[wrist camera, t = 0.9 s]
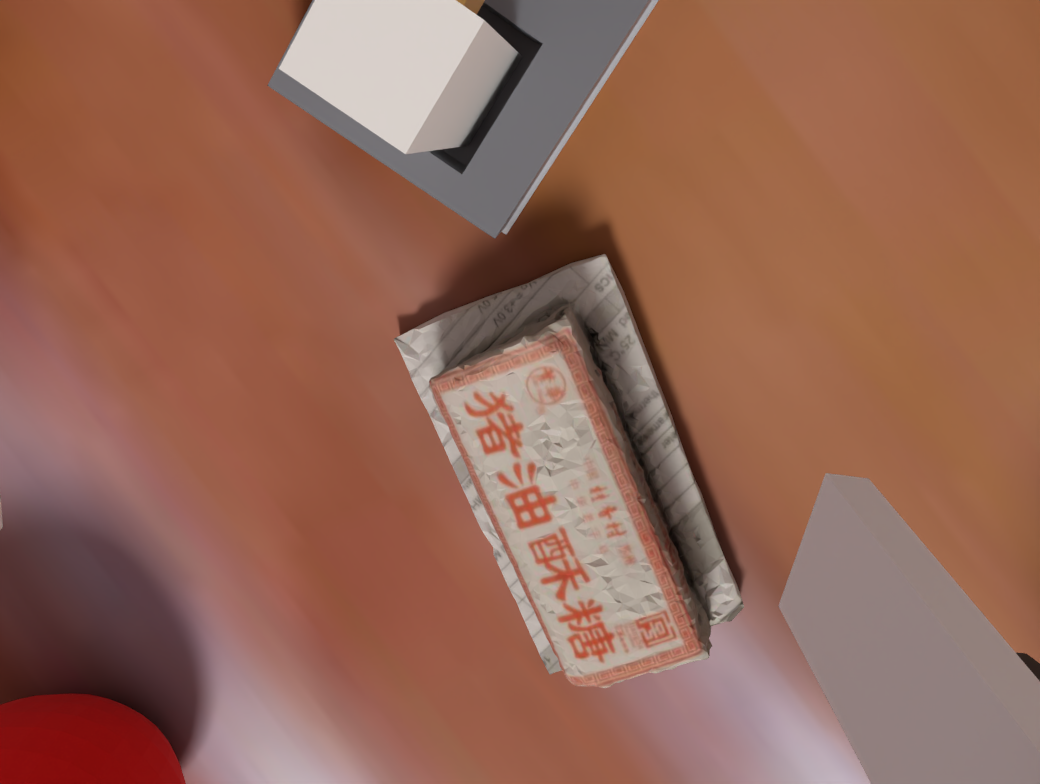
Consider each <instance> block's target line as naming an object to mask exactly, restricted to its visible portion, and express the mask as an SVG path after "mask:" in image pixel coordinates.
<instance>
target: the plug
mask: <svg viewBox="0 0 1040 784" xmlns="http://www.w3.org/2000/svg"><path fill="white" fill-rule="evenodd" d="M484 1H485V0H315V1H314V3H313V5H312V7H311V8H310V10H309V12H308V14H307V16H306V18H305V20H304V22H303V24H302V26H301V27H300V29H299V31H298V33H297V35H296V37H295V39H294V41H293V43H292V44H291V46H290V48H289V50H288V52H287V54H286V56H285V58H284V60H283V61H282V63H281V65H280V67H279V69H280V70H282V71H283V72H285V73H286V74H287V75H289V76H290V77H292V78H293V79H295V80H296V81H298V82H299V83H301V84H302V85H304V86H305V87H307V88H308V89H310V90H311V91H313V92H314V93H316V94H317V95H319V96H320V97H321V98H323V99H324V100H326V101H327V102H329V103H330V104H332V105H333V106H335V107H336V108H338V109H339V110H341V111H342V112H344V113H345V114H347V115H348V116H350V117H351V118H352V119H354V120H355V121H357V122H358V123H360V124H361V125H363V126H364V127H366V128H367V129H369V130H370V131H372V132H373V133H375V134H376V135H378V136H379V137H381V138H382V139H384V140H385V141H386V142H388V143H389V144H391V145H392V146H394V147H395V148H397V149H398V150H400V151H401V152H403V153H404V154H411V153H418V152H426V151H433V150H441V149H448V148H455V147H463V146H468V144H469V143H470V141H471V140H472V138H473V136H474V135H475V133H476V131H477V130H478V128H479V127H480V125H481V123H482V122H483V120H484V118H485V117H486V115H487V113H488V112H489V110H490V109H491V107H492V105H493V104H494V102H495V100H496V99H497V97H498V96H499V94H500V92H501V91H502V89H503V87H504V86H505V84H506V82H507V81H508V79H509V78H510V76H511V74H512V73H513V71H514V69H515V68H516V66H517V65H518V63H519V61H520V60H521V58H522V56H521V55H520V54H519V53H518V52H517V51H516V50H515V49H514V48H513V47H512V46H511V45H510V44H509V43H508V42H507V41H506V40H505V39H504V38H503V37H502V36H500V35H499V34H498V33H497V32H496V31H495V30H494V29H493V28H492V27H491V26H490V25H489V24H488V23H487V22H486V21H485V20H483V19H482V18H481V17H479V16H478V15H477V13H478V11H479V10H480V8H481V6H482V5H483V3H484Z"/></svg>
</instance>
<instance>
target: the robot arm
mask: <svg viewBox="0 0 1040 784" xmlns="http://www.w3.org/2000/svg"><path fill="white" fill-rule="evenodd" d="M2 528H3V523H2V509H1V496H0V530H1V529H2ZM779 608H780V610H781V612H782V614H783V616H784V618H785V620H786V622H787V624H788V625H789V627H790V629H791V631H792V633H793V635H794V637H795V639H796V641H797V643H798V645H799V646H800V648H801V650H802V652H803V654H804V656H805V658H806V660H807V662H808V664H809V666H810V667H811V669H812V671H813V673H814V675H815V677H816V679H817V681H818V683H819V685H820V687H821V688H822V690H823V692H824V694H825V696H826V698H827V700H828V702H829V704H830V706H831V708H832V710H833V711H834V713H835V715H836V717H837V719H838V721H839V723H840V725H841V727H842V729H843V731H844V732H845V734H846V736H847V738H848V740H849V742H850V744H851V746H852V748H853V750H854V752H855V753H856V755H857V757H858V759H859V761H860V763H861V765H862V767H863V769H864V771H865V773H866V774H867V776H868V778H869V780H870V782H871V784H1040V664H1039V663H1038V662H1037V661H1035V660H1034V659H1033V658H1031V657H1030V656H1029V655H1028V654H1025V653H1015V651H1014V650H1013V649H1012V648H1011V647H1010V645H1009V644H1008V643H1007V642H1006V641H1005V640H1004V638H1003V637H1002V636H1001V635H1000V634H999V632H998V631H997V630H996V629H995V628H994V627H993V625H992V624H991V623H990V622H989V621H988V619H987V618H986V617H985V616H984V615H983V614H982V612H981V611H980V610H979V609H978V608H977V606H976V605H975V604H974V603H973V602H972V600H971V599H970V598H969V597H968V596H967V595H966V593H965V592H964V591H963V590H962V589H961V587H960V586H959V585H958V584H957V583H956V582H955V580H954V579H953V578H952V577H951V576H950V574H949V573H948V572H947V571H946V570H945V569H944V567H943V566H942V565H941V564H940V563H939V561H938V560H937V559H936V558H935V557H934V555H933V554H932V553H931V552H930V551H929V550H928V548H927V547H926V546H925V545H924V544H923V542H922V541H921V540H920V539H919V538H918V537H917V535H916V534H915V533H914V532H913V531H912V529H911V528H910V527H909V526H908V525H907V523H906V522H905V521H904V520H903V519H902V518H901V516H900V515H899V514H898V513H897V512H896V510H895V509H894V508H893V507H892V506H891V505H890V503H889V502H888V501H887V500H886V499H885V497H884V496H883V495H882V494H881V493H880V492H879V490H878V489H877V488H876V487H875V486H874V484H873V483H872V482H871V481H870V480H869V479H868V478H860V477H852V476H844V475H836V474H828V473H826V474H825V477H824V479H823V482H822V485H821V488H820V491H819V494H818V496H817V499H816V502H815V505H814V508H813V510H812V513H811V516H810V519H809V522H808V525H807V527H806V530H805V533H804V536H803V539H802V541H801V544H800V547H799V550H798V553H797V555H796V558H795V561H794V564H793V567H792V570H791V572H790V575H789V578H788V581H787V584H786V586H785V589H784V592H783V595H782V598H781V600H780V603H779Z"/></svg>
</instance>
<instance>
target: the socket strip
mask: <svg viewBox="0 0 1040 784" xmlns="http://www.w3.org/2000/svg"><path fill="white" fill-rule="evenodd" d="M314 1H315V0H312V2H311V4H310V6H309V8H308V10H307V12H306V14H305V15H304V17H303V19H302V21H301V23H300V25H299V27H298V29H297V31H296V33H295V34H294V36H293V38H292V40H291V42H290V44H289V46H288V48H287V50H286V52H285V53H284V55H283V57H282V59H281V61H280V63H279V65H278V67H277V69H276V70H275V72H274V74H273V76H272V78H271V80H270V82H269V84H268V86H269V87H270V88H272V89H273V90H275V91H276V92H278V93H279V94H281V95H282V96H284V97H285V98H287V99H288V100H290V101H291V102H293V103H294V104H296V105H297V106H299V107H300V108H302V109H303V110H305V111H306V112H308V113H309V114H311V115H312V116H313V117H315V118H316V119H318V120H319V121H321V122H322V123H324V124H325V125H327V126H328V127H330V128H331V129H333V130H334V131H336V132H337V133H339V134H340V135H342V136H343V137H345V138H346V139H348V140H349V141H351V142H352V143H354V144H355V145H357V146H358V147H360V148H361V149H362V150H364V151H365V152H367V153H368V154H370V155H371V156H373V157H374V158H376V159H377V160H379V161H380V162H382V163H383V164H385V165H386V166H388V167H389V168H391V169H392V170H394V171H395V172H397V173H398V174H400V175H401V176H403V177H404V178H406V179H407V180H409V181H410V182H411V183H413V184H414V185H416V186H417V187H419V188H420V189H422V190H423V191H425V192H426V193H428V194H429V195H431V196H432V197H434V198H435V199H437V200H438V201H440V202H441V203H443V204H444V205H446V206H447V207H449V208H450V209H452V210H453V211H455V212H456V213H457V214H459V215H460V216H462V217H463V218H465V219H466V220H468V221H469V222H471V223H472V224H474V225H475V226H477V227H478V228H480V229H481V230H483V231H484V232H486V233H487V234H489V235H490V236H492V237H493V238H496V237H497V236H498V235H499V234H500V233H501V232H503V233H504V234H507V233H508V232H509V230H510V228H511V227H512V225H513V224H514V222H515V221H516V219H517V218H518V216H519V215H520V213H521V211H522V210H523V208H524V207H525V205H526V204H527V202H528V201H529V199H530V198H531V196H532V195H533V193H534V191H535V190H536V188H537V187H538V185H539V184H540V182H541V181H542V179H543V178H544V176H545V174H546V173H547V171H548V170H549V168H550V167H551V165H552V164H553V162H554V161H555V159H556V158H557V156H558V154H559V153H560V151H561V150H562V148H563V147H564V145H565V144H566V142H567V141H568V139H569V137H570V136H571V134H572V133H573V131H574V130H575V128H576V127H577V125H578V124H579V122H580V121H581V119H582V117H583V116H584V114H585V113H586V111H587V110H588V108H589V107H590V105H591V104H592V102H593V100H594V99H595V97H596V96H597V94H598V93H599V91H600V90H601V88H602V87H603V85H604V84H605V82H606V80H607V79H608V77H609V76H610V74H611V73H612V71H613V70H614V68H615V67H616V65H617V64H618V62H619V60H620V59H621V57H622V56H623V54H624V53H625V51H626V50H627V48H628V47H629V45H630V43H631V42H632V40H633V39H634V37H635V36H636V34H637V33H638V31H639V30H640V28H641V27H642V25H643V23H644V22H645V20H646V19H647V17H648V16H649V14H650V13H651V11H652V10H653V8H654V6H655V5H656V3H657V2H658V0H485V1H484V3H483V5H482V6H481V8H480V10H479V11H478V13H477V15H478V16H479V17H481V18H482V19H483V20H485V21H486V22H487V23H488V24H489V25H490V26H491V27H492V28H493V29H494V30H495V31H496V32H497V33H498V34H499V35H500V36H502V37H503V38H504V39H505V40H506V41H507V42H508V43H509V44H510V45H511V46H512V47H513V48H514V49H515V50H516V51H517V52H518V53H519V54H520V55H521V56H522V58H521V60H520V61H519V63H518V65H517V66H516V68H515V69H514V71H513V73H512V74H511V76H510V78H509V79H508V81H507V82H506V84H505V86H504V87H503V89H502V91H501V92H500V94H499V96H498V97H497V99H496V100H495V102H494V104H493V105H492V107H491V109H490V110H489V112H488V113H487V115H486V117H485V118H484V120H483V122H482V123H481V125H480V127H479V128H478V130H477V131H476V133H475V135H474V136H473V138H472V140H471V141H470V143H469V144H468V146H463V147H455V148H448V149H441V150H433V151H426V152H418V153H411V154H404V153H403V152H401V151H400V150H398V149H397V148H395V147H394V146H392V145H391V144H389V143H388V142H386V141H385V140H384V139H382V138H381V137H379V136H378V135H376V134H375V133H373V132H372V131H370V130H369V129H367V128H366V127H364V126H363V125H361V124H360V123H358V122H357V121H355V120H354V119H352V118H351V117H350V116H348V115H347V114H345V113H344V112H342V111H341V110H339V109H338V108H336V107H335V106H333V105H332V104H330V103H329V102H327V101H326V100H324V99H323V98H321V97H320V96H319V95H317V94H316V93H314V92H313V91H311V90H310V89H308V88H307V87H305V86H304V85H302V84H301V83H299V82H298V81H296V80H295V79H293V78H292V77H290V76H289V75H287V74H286V73H285V72H283V71H282V70H280V69H279V67H280V65H281V63H282V61H283V60H284V58H285V56H286V54H287V52H288V50H289V48H290V46H291V44H292V43H293V41H294V39H295V37H296V35H297V33H298V31H299V29H300V27H301V26H302V24H303V22H304V20H305V18H306V16H307V14H308V12H309V10H310V8H311V7H312V5H313V3H314Z"/></svg>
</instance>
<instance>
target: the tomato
mask: <svg viewBox="0 0 1040 784" xmlns="http://www.w3.org/2000/svg"><path fill="white" fill-rule="evenodd" d="M0 784H186V783H185V780H184V776H183V773H182V770H181V766H180V764H179V762H178V759H177V757H176V755H175V753H174V751H173V749H172V747H171V745H170V743H169V741H168V740H167V738H166V737H165V736H164V735H163V734H162V732H161V731H160V730H159V729H158V727H157V726H156V725H155V724H153V723H152V722H151V721H150V720H148V719H147V718H146V717H145V716H143V715H142V714H140V713H139V712H137V711H135V710H133V709H131V708H129V707H128V706H126V705H123V704H121V703H118V702H116V701H113V700H111V699H108V698H104V697H99V696H95V695H91V694H73V693H70V694H53V695H36V696H31V697H27V698H22V699H17V700H14V701H10V702H7V703H4V704H1V705H0Z"/></svg>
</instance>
